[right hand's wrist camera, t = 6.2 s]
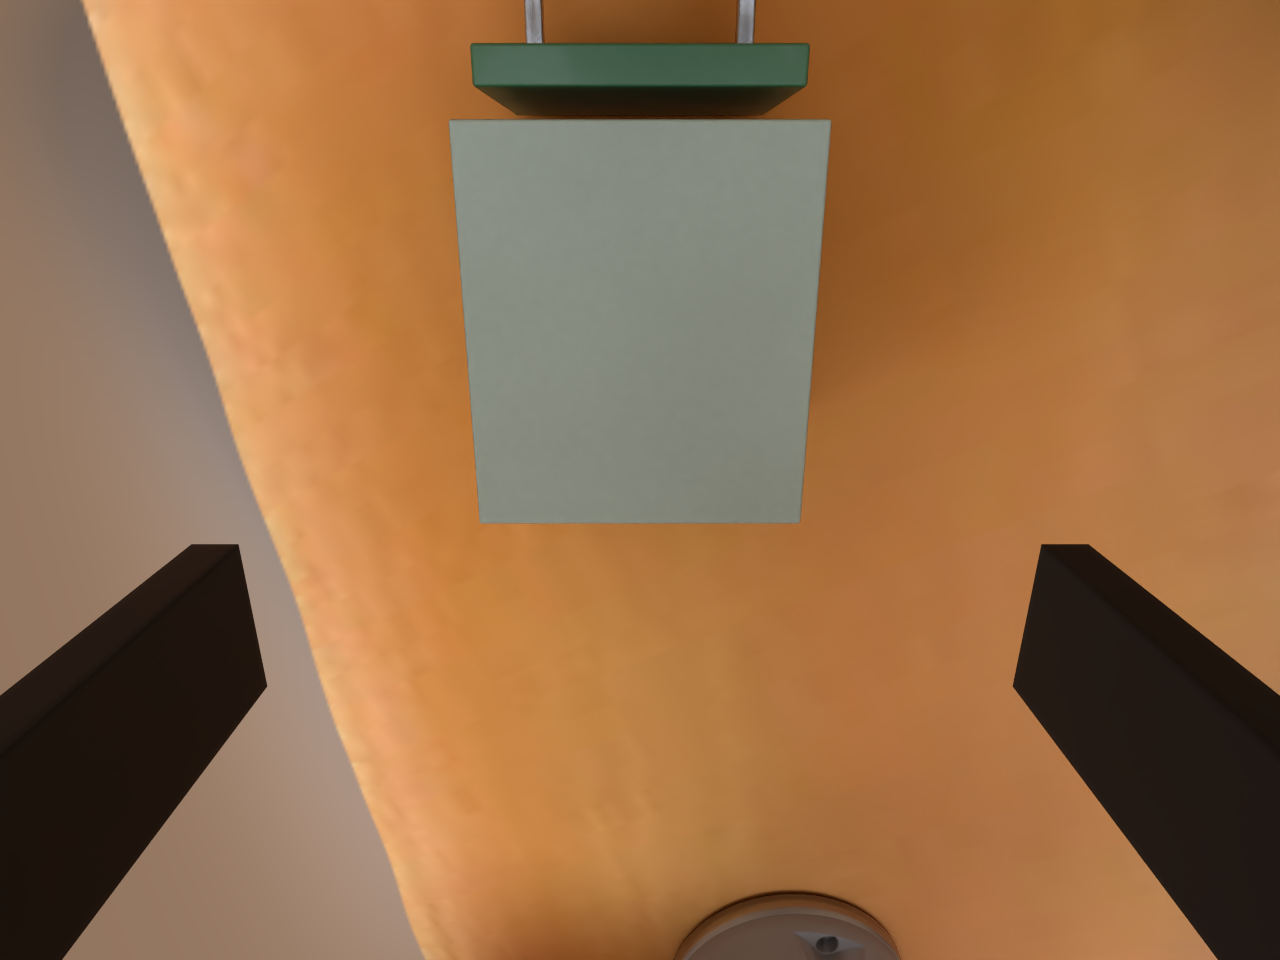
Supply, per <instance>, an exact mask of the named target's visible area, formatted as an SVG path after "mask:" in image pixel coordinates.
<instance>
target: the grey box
mask: <svg viewBox="0 0 1280 960" xmlns="http://www.w3.org/2000/svg"><path fill="white" fill-rule="evenodd" d="M449 132H450V145H451V158H452V171H453V183H454V196H455V209H456V222H457V235H458V248H459V260H460V273H461V286H462V299H463V312H464V325H465V338H466V350H467V363H468V376H469V389H470V402H471V415H472V427H473V440H474V453H475V466H476V479H477V492H478V505H479V517H480V523H800V518H801V505H802V493H803V480H804V467H805V454H806V441H807V428H808V416H809V403H810V390H811V377H812V364H813V351H814V339H815V326H816V313H817V300H818V287H819V274H820V262H821V249H822V236H823V223H824V210H825V197H826V184H827V172H828V159H829V146H830V133H831V120H829V119H451V120H449Z"/></svg>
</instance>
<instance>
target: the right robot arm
mask: <svg viewBox="0 0 1280 960" xmlns="http://www.w3.org/2000/svg"><path fill="white" fill-rule="evenodd" d="M266 687H267V683H266V678H265V673H264V668H263V663H262V658H261V653H260V648H259V643H258V638H257V634H256V629H255V624H254V619H253V614H252V609H251V604H250V599H249V594H248V589H247V584H246V579H245V574H244V569H243V565H242V560H241V555H240V550H239V545H238V544H192V545H190V546H189V547H188V548H186V549H185V550H184V551H183V552H181V553H180V554H179V555H178V556H176V557H175V558H174V559H173V560H171V561H170V562H169V563H167V564H166V565H165V566H164V567H162V568H161V569H160V570H159V571H157V572H156V573H155V574H153V575H152V576H151V577H150V578H148V579H147V580H146V581H145V582H143V583H142V584H141V585H140V586H138V587H137V588H136V589H135V590H133V591H132V592H131V593H129V594H128V595H127V596H126V597H124V598H123V599H122V600H121V601H119V602H118V603H117V604H116V605H114V606H113V607H112V608H110V609H109V610H108V611H107V612H105V613H104V614H103V615H102V616H100V617H99V618H98V619H97V620H95V621H94V622H93V623H92V624H90V625H89V626H88V627H86V628H85V629H84V630H83V631H81V632H80V633H79V634H78V635H76V636H75V637H74V638H73V639H71V640H70V641H69V642H68V643H66V644H65V645H64V646H62V647H61V648H60V649H59V650H57V651H56V652H55V653H54V654H52V655H51V656H50V657H49V658H47V659H46V660H45V661H43V662H42V663H41V664H40V665H38V666H37V667H36V668H35V669H33V670H32V671H31V672H30V673H28V674H27V675H26V676H24V677H23V678H22V679H21V680H19V681H18V682H17V683H16V684H14V685H13V686H12V687H11V688H9V689H8V690H7V691H6V692H4V693H3V694H2V695H0V960H62V959H63V958H64V956H65V955H66V954H67V952H68V951H69V950H70V948H71V947H72V946H73V944H74V943H75V942H76V940H77V939H78V938H79V936H80V935H81V934H82V932H83V931H84V930H85V928H86V927H87V926H88V924H89V923H90V922H91V920H92V919H93V918H94V916H95V915H96V914H97V912H98V911H99V910H100V908H101V907H102V906H103V904H104V903H105V902H106V900H107V899H108V898H109V896H110V895H111V894H112V892H113V891H114V890H115V888H116V887H117V886H118V884H119V883H120V882H121V880H122V879H123V878H124V876H125V875H126V874H127V872H128V871H129V870H130V868H131V867H132V866H133V864H134V863H135V862H136V860H137V859H138V858H139V856H140V855H141V854H142V852H143V851H144V850H145V848H146V847H147V846H148V844H149V843H150V842H151V840H152V839H153V838H154V836H155V835H156V834H157V832H158V831H159V830H160V828H161V827H162V826H163V824H164V823H165V822H166V820H167V819H168V818H169V816H170V815H171V814H172V812H173V811H174V810H175V808H176V807H177V806H178V805H179V803H180V802H181V801H182V799H183V798H184V796H185V795H186V794H187V793H188V791H189V790H190V789H191V787H192V786H193V784H194V783H195V782H196V781H197V779H198V778H199V776H200V775H201V774H202V773H203V771H204V770H205V769H206V767H207V766H208V765H209V763H210V762H211V761H212V759H213V758H214V757H215V755H216V754H217V752H218V751H219V750H220V749H221V747H222V746H223V745H224V743H225V742H226V741H227V739H228V738H229V737H230V735H231V734H232V732H233V731H234V730H235V729H236V727H237V726H238V725H239V723H240V722H241V721H242V719H243V718H244V717H245V715H246V714H247V713H248V711H249V710H250V709H251V707H252V706H253V705H254V703H255V702H256V701H257V699H258V698H259V697H260V695H261V694H262V693H263V691H264V690H265V689H266ZM1013 687H1014V689H1015V690H1016V691H1017V693H1018V694H1019V695H1020V697H1021V698H1022V699H1023V701H1024V702H1025V703H1026V705H1027V706H1028V707H1029V709H1030V710H1031V711H1032V713H1033V714H1034V715H1035V717H1036V718H1037V719H1038V721H1039V722H1040V723H1041V725H1042V726H1043V727H1044V729H1045V730H1046V731H1047V733H1048V734H1049V735H1050V737H1051V738H1052V739H1053V741H1054V742H1055V743H1056V745H1057V746H1058V747H1059V749H1060V750H1061V751H1062V753H1063V754H1064V755H1065V757H1066V758H1067V759H1068V761H1069V762H1070V763H1071V765H1072V766H1073V767H1074V769H1075V770H1076V771H1077V773H1078V774H1079V775H1080V777H1081V778H1082V779H1083V781H1084V782H1085V783H1086V785H1087V786H1088V787H1089V789H1090V790H1091V791H1092V793H1093V794H1094V795H1095V797H1096V798H1097V799H1098V801H1099V802H1100V803H1101V805H1102V806H1103V807H1104V808H1105V810H1106V811H1107V812H1108V814H1109V815H1110V816H1111V818H1112V819H1113V820H1114V822H1115V823H1116V824H1117V826H1118V827H1119V828H1120V830H1121V831H1122V832H1123V834H1124V835H1125V836H1126V838H1127V839H1128V840H1129V842H1130V843H1131V844H1132V846H1133V847H1134V848H1135V850H1136V851H1137V852H1138V854H1139V855H1140V856H1141V858H1142V859H1143V860H1144V862H1145V863H1146V864H1147V866H1148V867H1149V868H1150V870H1151V871H1152V872H1153V874H1154V875H1155V876H1156V878H1157V879H1158V880H1159V882H1160V883H1161V884H1162V886H1163V887H1164V888H1165V890H1166V891H1167V892H1168V894H1169V895H1170V896H1171V898H1172V899H1173V900H1174V902H1175V903H1176V904H1177V906H1178V907H1179V908H1180V910H1181V911H1182V912H1183V914H1184V915H1185V916H1186V918H1187V919H1188V920H1189V922H1190V923H1191V924H1192V926H1193V927H1194V928H1195V930H1196V931H1197V932H1198V934H1199V935H1200V936H1201V938H1202V939H1203V940H1204V942H1205V943H1206V944H1207V946H1208V947H1209V948H1210V950H1211V951H1212V952H1213V954H1214V955H1215V956H1216V958H1217V959H1218V960H1280V695H1278V694H1277V693H1276V692H1274V691H1273V690H1272V689H1271V688H1269V687H1268V686H1267V685H1266V684H1264V683H1263V682H1262V681H1261V680H1259V679H1258V678H1257V677H1256V676H1254V675H1253V674H1252V673H1250V672H1249V671H1248V670H1247V669H1245V668H1244V667H1243V666H1242V665H1240V664H1239V663H1238V662H1237V661H1235V660H1234V659H1233V658H1231V657H1230V656H1229V655H1228V654H1226V653H1225V652H1224V651H1223V650H1221V649H1220V648H1219V647H1218V646H1216V645H1215V644H1214V643H1213V642H1211V641H1210V640H1209V639H1207V638H1206V637H1205V636H1204V635H1202V634H1201V633H1200V632H1199V631H1197V630H1196V629H1195V628H1194V627H1192V626H1191V625H1190V624H1188V623H1187V622H1186V621H1185V620H1183V619H1182V618H1181V617H1180V616H1178V615H1177V614H1176V613H1175V612H1173V611H1172V610H1171V609H1170V608H1168V607H1167V606H1166V605H1164V604H1163V603H1162V602H1161V601H1159V600H1158V599H1157V598H1156V597H1154V596H1153V595H1152V594H1151V593H1149V592H1148V591H1147V590H1145V589H1144V588H1143V587H1142V586H1140V585H1139V584H1138V583H1137V582H1135V581H1134V580H1133V579H1132V578H1130V577H1129V576H1128V575H1127V574H1125V573H1124V572H1123V571H1121V570H1120V569H1119V568H1118V567H1116V566H1115V565H1114V564H1113V563H1111V562H1110V561H1109V560H1108V559H1106V558H1105V557H1104V556H1102V555H1101V554H1100V553H1099V552H1097V551H1096V550H1095V549H1094V548H1092V547H1091V546H1090V545H1089V544H1042V545H1041V550H1040V555H1039V560H1038V565H1037V569H1036V574H1035V579H1034V584H1033V589H1032V594H1031V599H1030V604H1029V609H1028V614H1027V619H1026V624H1025V629H1024V633H1023V638H1022V643H1021V648H1020V653H1019V658H1018V663H1017V668H1016V673H1015V678H1014V683H1013ZM674 960H901V959H900V956H899V953H898V951H897V948H896V946H895V944H894V942H893V940H892V938H891V937H890V936H889V934H888V933H887V931H886V930H885V929H884V928H883V927H882V926H881V925H880V924H879V923H878V922H877V921H875V920H874V919H873V918H872V917H870V916H869V915H867V914H866V913H864V912H862V911H861V910H859V909H857V908H855V907H853V906H851V905H848V904H846V903H843V902H840V901H837V900H834V899H830V898H826V897H820V896H814V895H804V894H782V895H772V896H765V897H760V898H755V899H751V900H748V901H745V902H741V903H739V904H736V905H733V906H731V907H729V908H727V909H724V910H722V911H720V912H719V913H717V914H715V915H713V916H712V917H710V918H709V919H707V920H706V921H705V922H703V923H702V924H701V925H699V926H698V927H697V928H696V929H695V930H694V931H693V932H692V933H691V934H690V935H689V936H688V937H687V938H686V940H685V941H684V942H683V944H682V945H681V947H680V948H679V950H678V952H677V954H676V956H675V958H674Z"/></svg>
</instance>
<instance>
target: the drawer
mask: <svg viewBox="0 0 1280 960" xmlns="http://www.w3.org/2000/svg"><path fill="white" fill-rule="evenodd" d="M755 6H756V0H737V6H736V33H735V43H545V34H544V7H543V0H524V8H525V31H526V43H472V44H471V46H470V50H471V65H472V80H473V85H474V86H475V87H476V88H477V89H479V90H480V91H482V92H483V93H485V94H486V95H488V96H489V97H491V98H492V99H494V100H495V101H497V102H498V103H500V104H501V105H503V106H504V107H506V108H507V109H509V110H510V111H512V112H513V113H515V114H516V115H764V114H765V113H767V112H768V111H770V110H771V109H773V108H774V107H776V106H777V105H779V104H780V103H782V102H783V101H785V100H786V99H788V98H789V97H791V96H792V95H794V94H795V93H797V92H798V91H800V90H801V89H803V88H804V87H806V85H807V80H808V65H809V51H810V46H809V44H808V43H754V28H755Z"/></svg>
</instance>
